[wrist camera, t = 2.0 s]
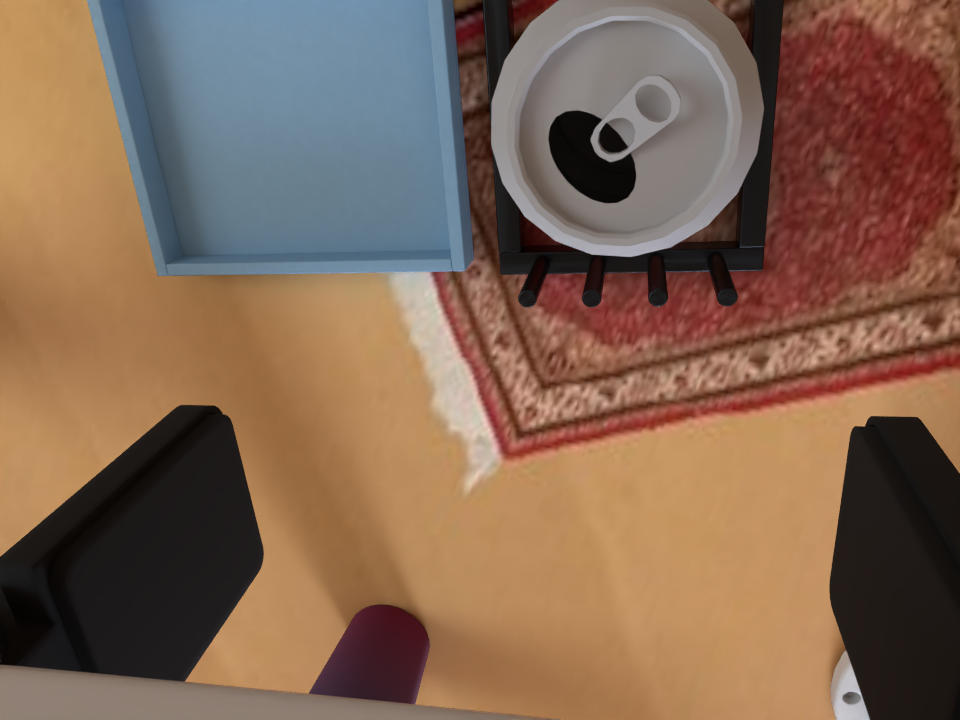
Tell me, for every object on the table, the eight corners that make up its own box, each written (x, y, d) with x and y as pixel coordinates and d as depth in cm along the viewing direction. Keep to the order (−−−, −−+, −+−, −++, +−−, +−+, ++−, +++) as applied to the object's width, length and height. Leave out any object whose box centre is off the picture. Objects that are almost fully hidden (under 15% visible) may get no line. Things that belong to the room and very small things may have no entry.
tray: (447, -70, 29) (435, -76, 27) (474, 259, 34) (465, 271, 32) (107, -30, 32) (77, -34, 30) (179, 265, 37) (157, 276, 35)
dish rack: (788, -123, 26) (826, -164, 20) (758, 263, 31) (783, 310, 26) (482, -86, 28) (444, -114, 23) (504, 267, 34) (478, 311, 28)
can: (498, 95, 31) (421, 128, 20) (639, -52, 28) (638, -106, 17) (617, 227, 32) (605, 325, 21) (765, 100, 29) (839, 140, 18)
